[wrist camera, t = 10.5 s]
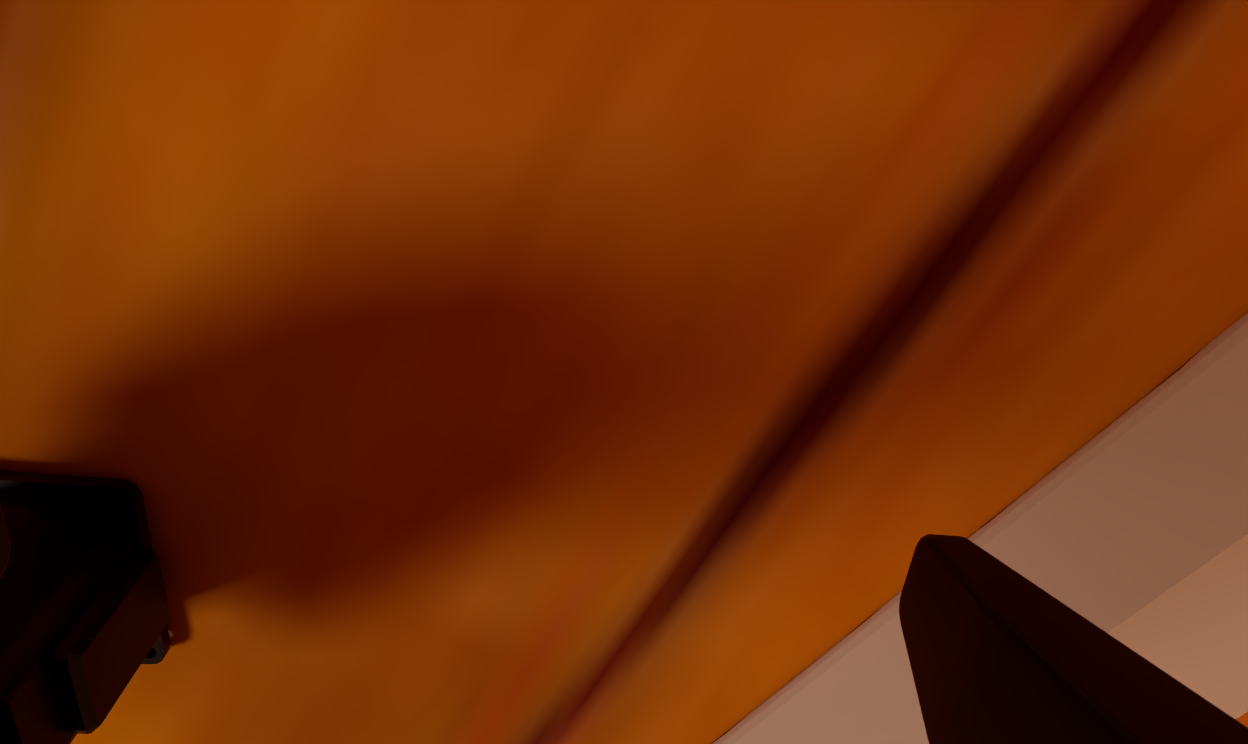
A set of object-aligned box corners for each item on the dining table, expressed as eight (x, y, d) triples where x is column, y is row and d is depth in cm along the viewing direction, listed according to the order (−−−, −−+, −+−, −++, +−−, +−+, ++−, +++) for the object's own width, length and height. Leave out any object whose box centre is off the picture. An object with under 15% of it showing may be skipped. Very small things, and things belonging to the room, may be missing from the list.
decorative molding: (1521, 315, 25) (1458, 121, 20) (1721, 413, 21) (1711, 206, 16) (743, 871, 36) (569, 843, 31) (786, 1001, 32) (595, 993, 27)
